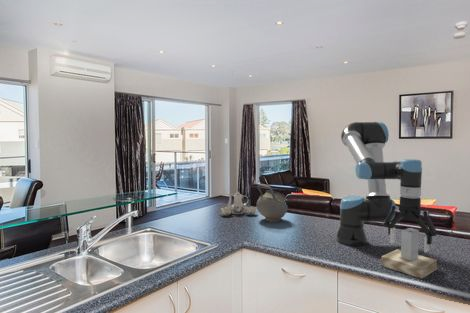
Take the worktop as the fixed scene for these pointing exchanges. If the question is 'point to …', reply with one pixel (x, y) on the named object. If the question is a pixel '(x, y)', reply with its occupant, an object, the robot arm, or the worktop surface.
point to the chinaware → (237, 206)
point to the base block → (409, 264)
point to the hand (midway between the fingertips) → (408, 247)
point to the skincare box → (409, 244)
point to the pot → (271, 204)
